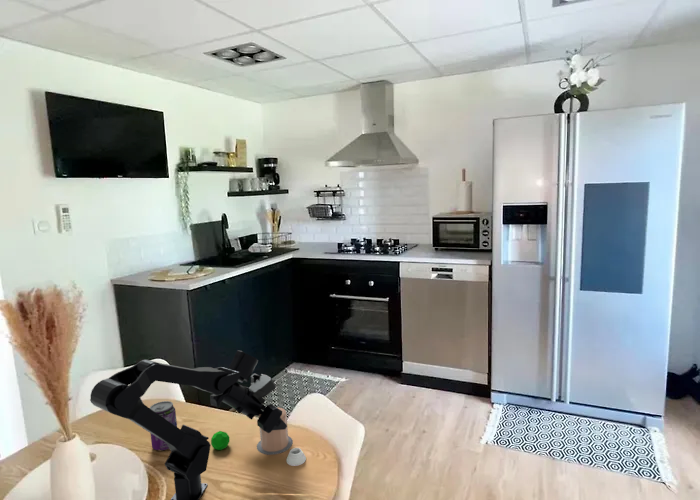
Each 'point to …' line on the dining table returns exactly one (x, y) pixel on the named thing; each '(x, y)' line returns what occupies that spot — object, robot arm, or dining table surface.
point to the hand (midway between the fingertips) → (277, 421)
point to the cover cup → (275, 436)
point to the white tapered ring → (296, 457)
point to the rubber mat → (276, 451)
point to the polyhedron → (220, 440)
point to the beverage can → (167, 413)
